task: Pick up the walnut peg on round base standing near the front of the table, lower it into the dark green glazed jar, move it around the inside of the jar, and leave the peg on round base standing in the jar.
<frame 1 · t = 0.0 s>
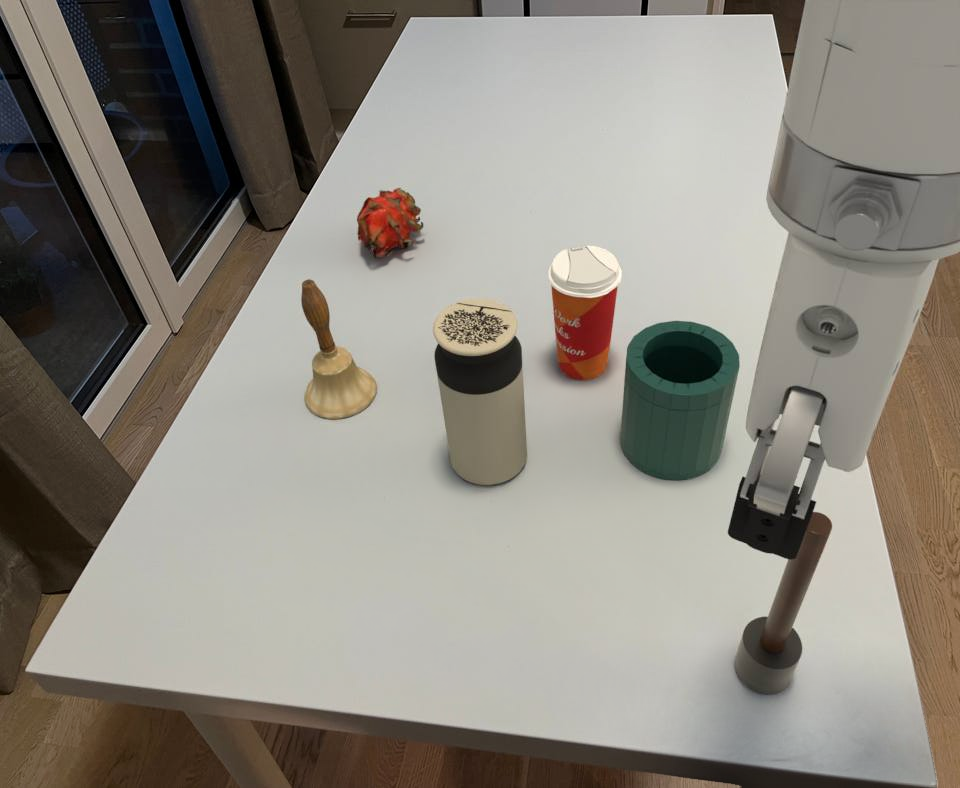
hand: (788, 472, 41), 30 cm above the table, tool pointing down, fingers open, 9 cm apart
dragon fruit: (392, 247, 111), on the table
paper cup: (582, 365, 92), on the table
peg on round base: (762, 668, 64), on the table
travel mug: (489, 458, 83), on the table
hand bell: (341, 394, 91), on the table
jar: (670, 441, 82), on the table
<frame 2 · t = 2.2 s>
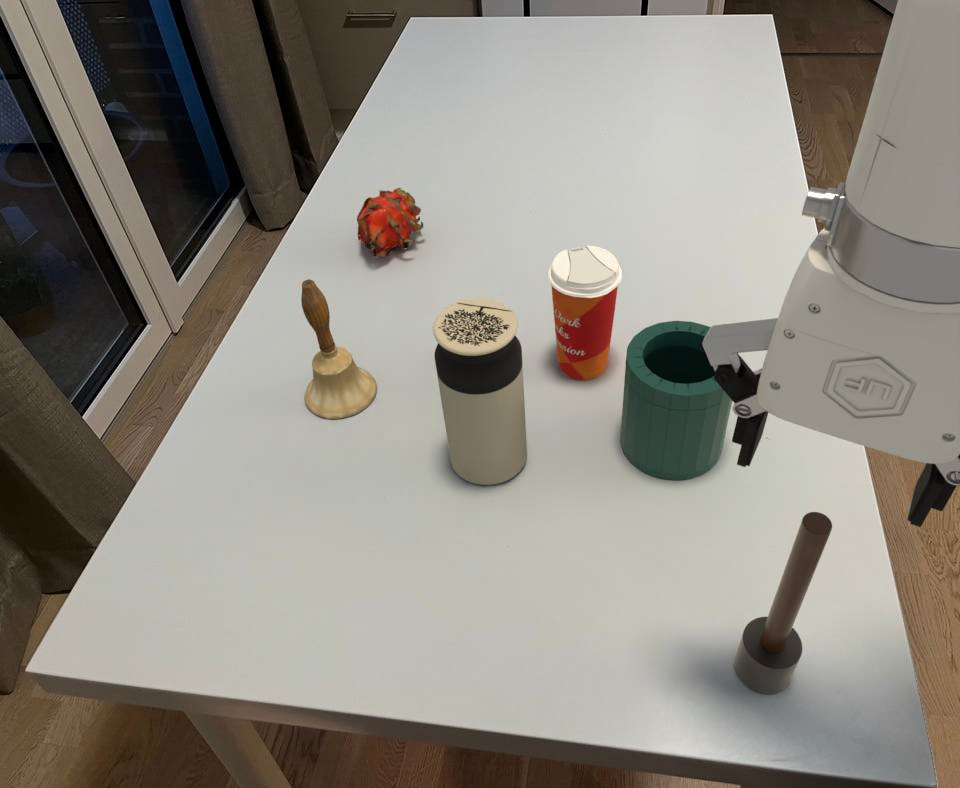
hand: (829, 477, 47), 24 cm above the table, tool pointing down, fingers open, 9 cm apart
nothing on the table moved.
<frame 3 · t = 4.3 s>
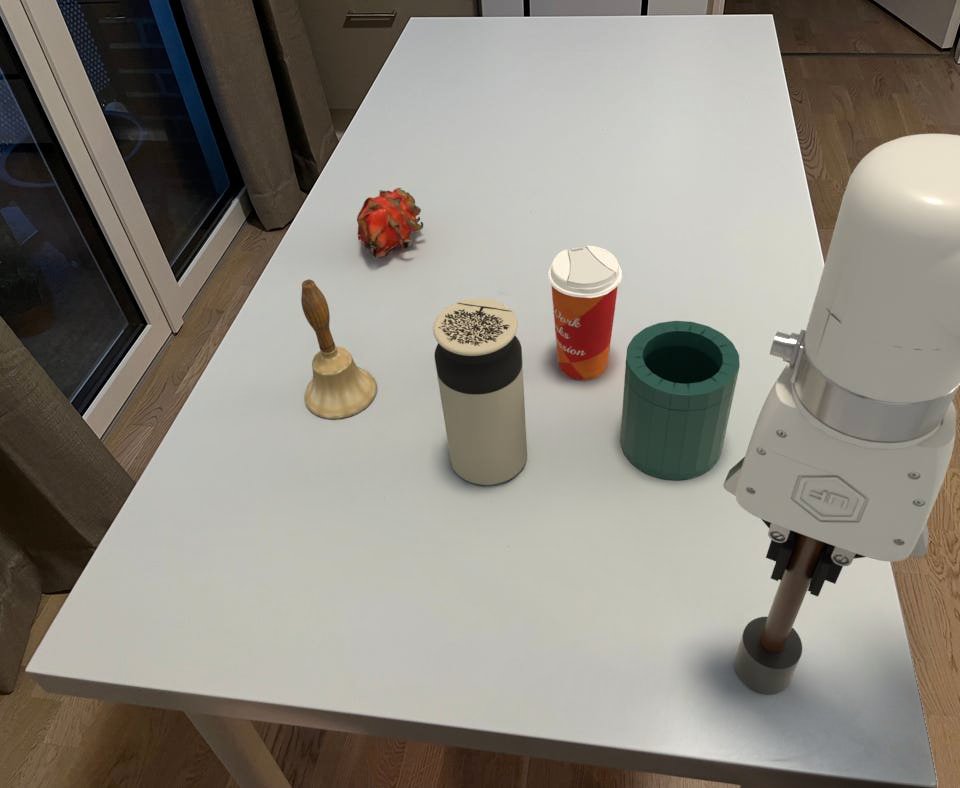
hand: (799, 570, 54), 15 cm above the table, tool pointing down, fingers closed on peg on round base
peg on round base: (762, 668, 64), on the table, touching gripper
everything else where it was.
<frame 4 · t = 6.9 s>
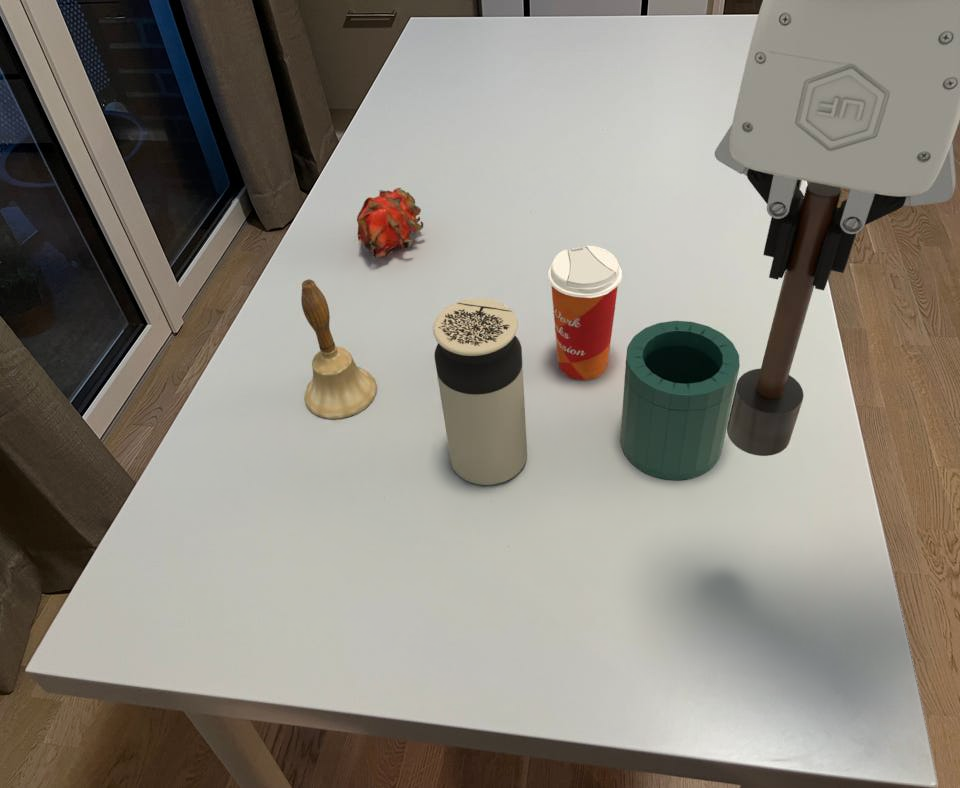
hand: (802, 269, 47), 33 cm above the table, tool pointing down, fingers closed on peg on round base
peg on round base: (758, 433, 57), point 19 cm above the table, touching gripper
everything else where it was.
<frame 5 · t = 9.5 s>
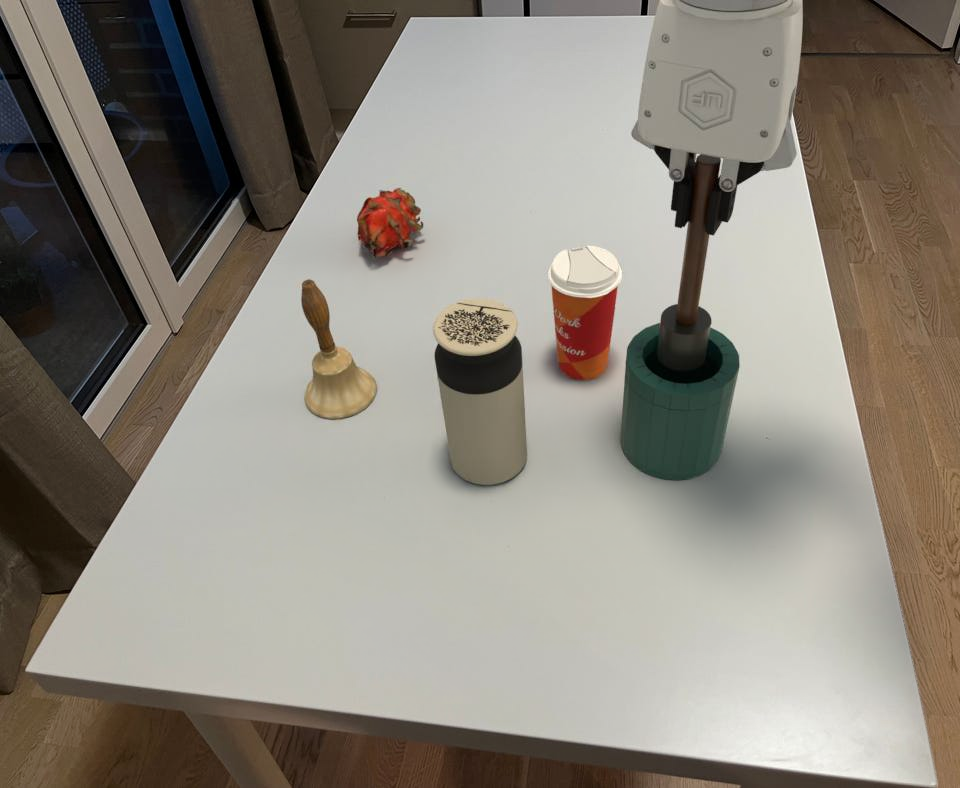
hand: (700, 221, 64), 27 cm above the table, tool pointing down, fingers closed on peg on round base
peg on round base: (680, 355, 74), point 12 cm above the table, touching gripper
everything else where it was.
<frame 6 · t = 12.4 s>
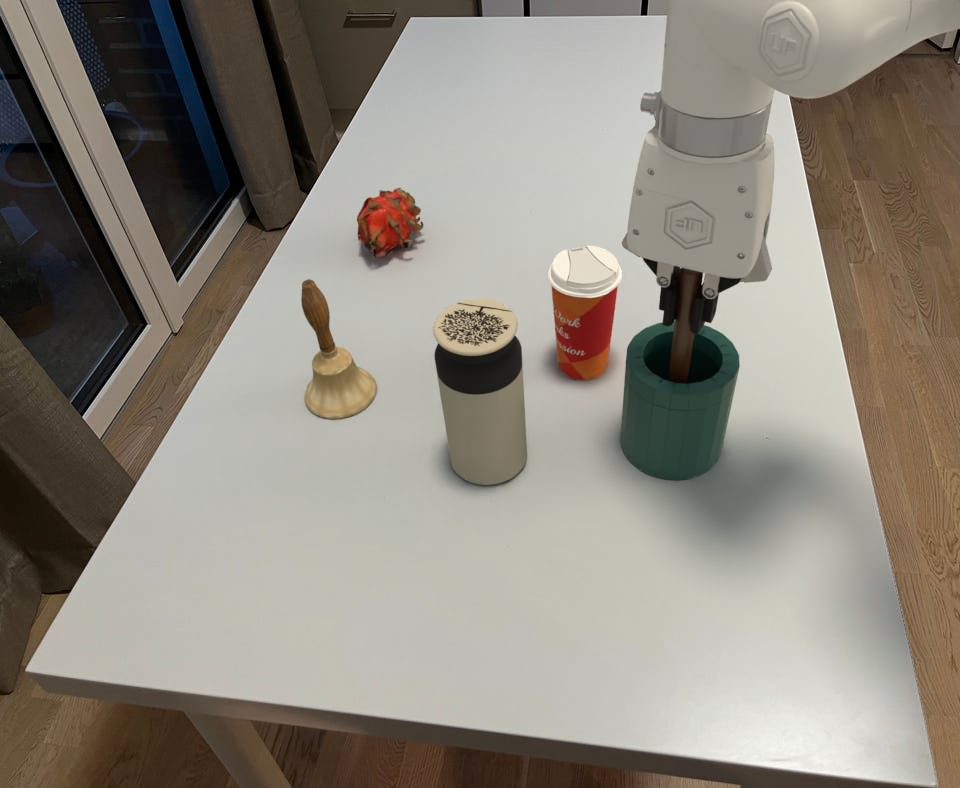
hand: (685, 319, 69), 18 cm above the table, tool pointing down, fingers closed on peg on round base
peg on round base: (670, 432, 79), point 3 cm above the table, touching gripper
everything else where it was.
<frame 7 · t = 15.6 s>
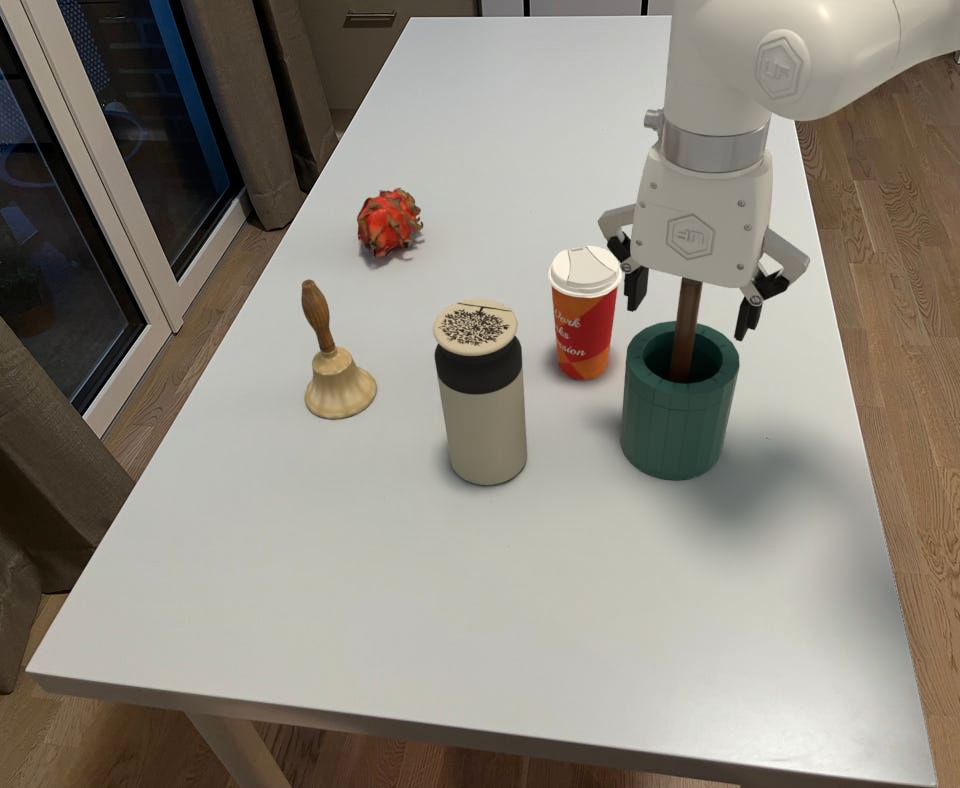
hand: (688, 316, 70), 17 cm above the table, tool pointing down, fingers open, 9 cm apart
peg on round base: (670, 436, 82), point 1 cm above the table, touching jar
everything else where it was.
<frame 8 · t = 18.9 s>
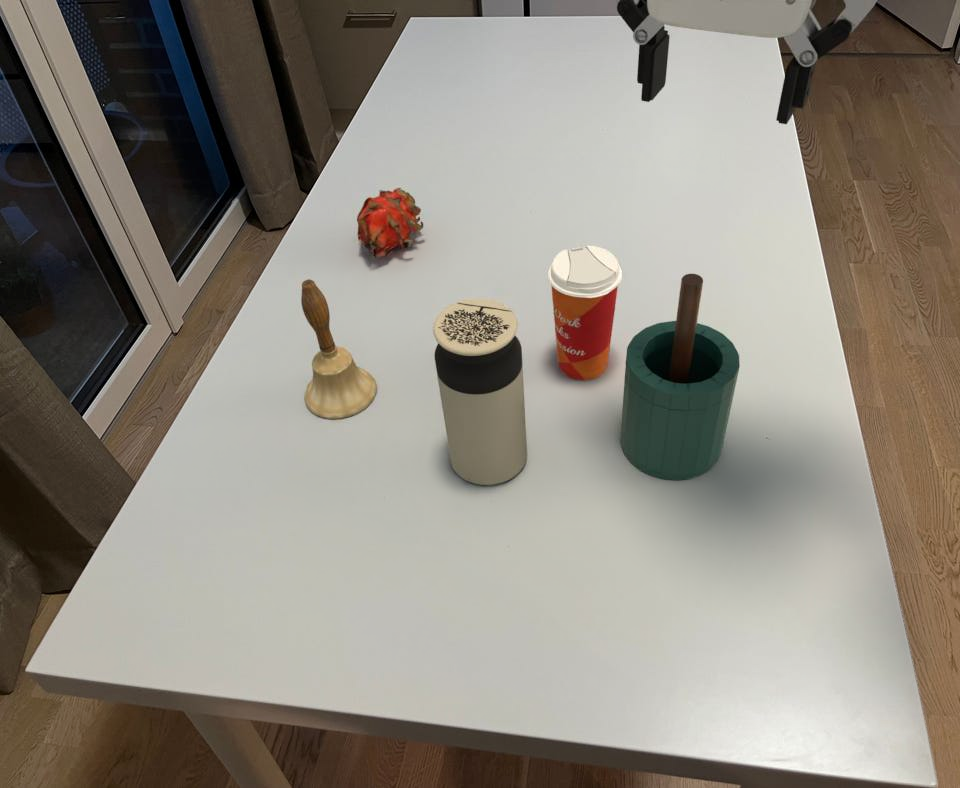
hand: (717, 104, 57), 36 cm above the table, tool pointing down, fingers open, 9 cm apart
nothing on the table moved.
at the end: peg on round base 0.1 cm off-centre in the jar, point 0.8 cm above the jar's base; the gripper is holding nothing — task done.
